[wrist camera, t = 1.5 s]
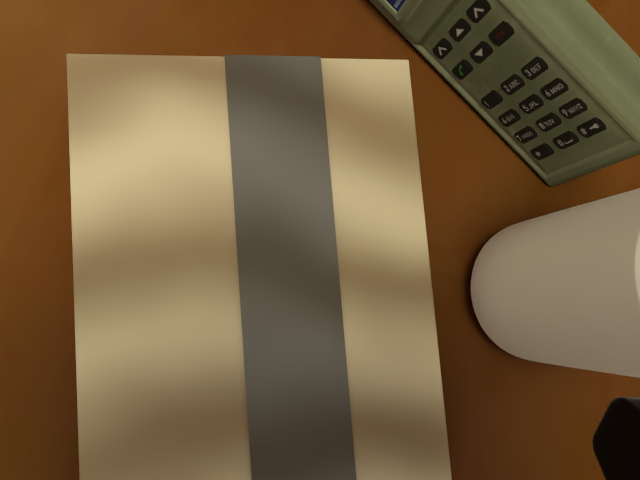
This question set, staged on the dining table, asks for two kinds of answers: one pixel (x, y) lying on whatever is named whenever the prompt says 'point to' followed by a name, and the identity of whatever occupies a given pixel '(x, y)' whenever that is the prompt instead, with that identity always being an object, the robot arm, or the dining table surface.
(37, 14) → the dining table surface
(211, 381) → the subfloor board
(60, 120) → the dining table surface
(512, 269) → the beverage can
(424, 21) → the handheld radio
